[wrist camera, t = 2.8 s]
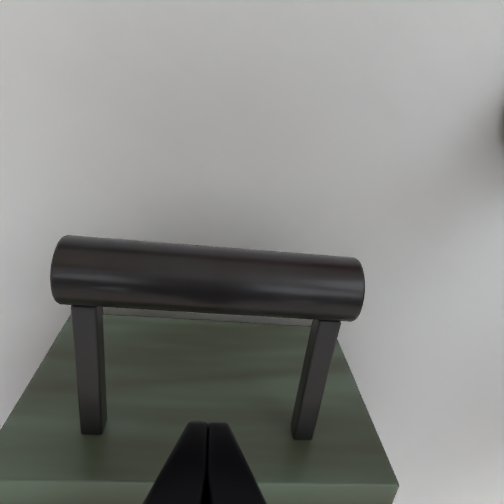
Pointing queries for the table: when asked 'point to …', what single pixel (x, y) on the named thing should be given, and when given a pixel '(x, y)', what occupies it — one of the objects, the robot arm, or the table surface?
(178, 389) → the drawer
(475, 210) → the table surface
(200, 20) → the table surface
